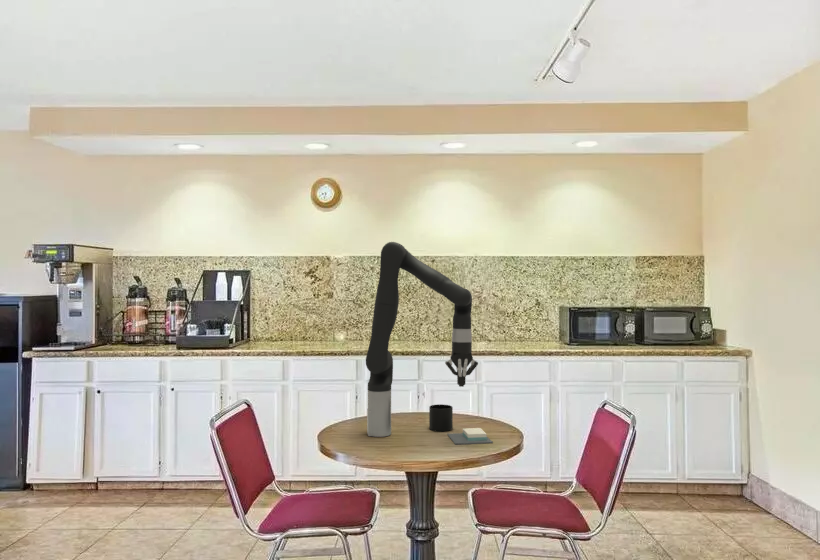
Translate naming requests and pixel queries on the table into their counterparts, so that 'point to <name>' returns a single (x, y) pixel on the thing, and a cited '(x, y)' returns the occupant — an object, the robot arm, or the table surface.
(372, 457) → the table surface
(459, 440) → the mat
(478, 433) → the block
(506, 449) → the table surface
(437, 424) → the mug
